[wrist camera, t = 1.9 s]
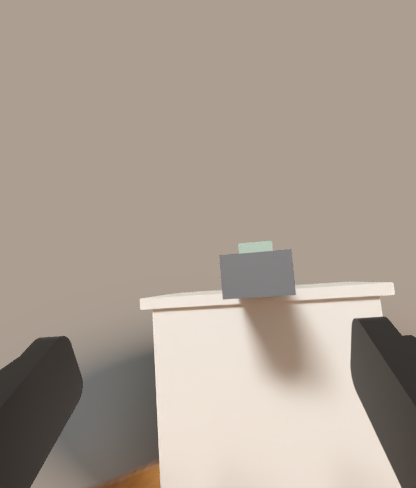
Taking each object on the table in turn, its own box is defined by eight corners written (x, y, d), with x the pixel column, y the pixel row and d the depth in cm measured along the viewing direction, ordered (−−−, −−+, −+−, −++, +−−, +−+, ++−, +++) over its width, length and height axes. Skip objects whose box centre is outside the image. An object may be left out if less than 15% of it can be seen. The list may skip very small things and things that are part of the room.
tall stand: (156, 701, 25) (139, 298, 29) (192, 553, 39) (177, 292, 43) (459, 743, 22) (393, 282, 26) (382, 565, 36) (346, 281, 40)
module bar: (222, 299, 18) (215, 204, 18) (243, 288, 41) (240, 247, 42) (295, 295, 17) (285, 196, 18) (274, 286, 41) (270, 244, 41)
